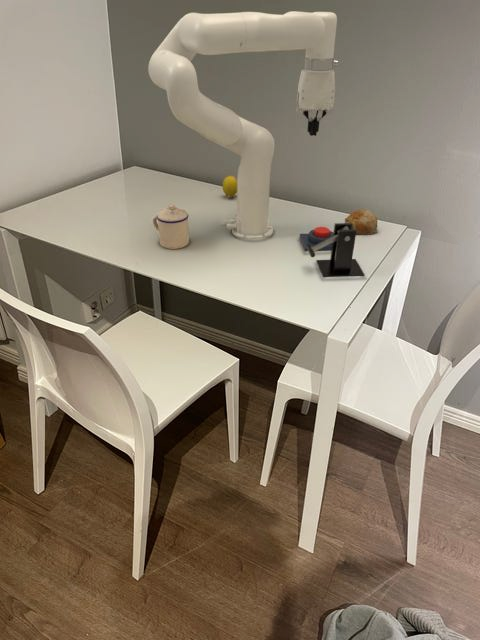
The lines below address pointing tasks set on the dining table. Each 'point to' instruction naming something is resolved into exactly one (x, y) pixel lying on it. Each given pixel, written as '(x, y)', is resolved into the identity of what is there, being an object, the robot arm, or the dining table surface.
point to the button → (321, 232)
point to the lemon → (230, 186)
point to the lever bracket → (341, 255)
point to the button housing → (314, 241)
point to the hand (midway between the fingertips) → (312, 134)
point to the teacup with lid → (172, 227)
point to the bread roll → (362, 222)
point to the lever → (323, 243)
